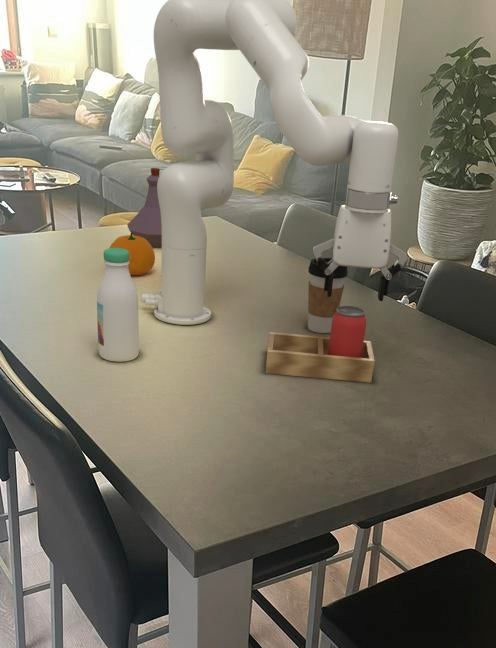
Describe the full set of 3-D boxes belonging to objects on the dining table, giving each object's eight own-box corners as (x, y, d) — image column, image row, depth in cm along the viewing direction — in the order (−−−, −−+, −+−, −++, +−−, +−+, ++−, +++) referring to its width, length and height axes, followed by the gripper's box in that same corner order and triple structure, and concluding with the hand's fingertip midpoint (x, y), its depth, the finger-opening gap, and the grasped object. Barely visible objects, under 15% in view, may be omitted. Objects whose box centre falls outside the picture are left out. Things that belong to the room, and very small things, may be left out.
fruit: (164, 272, 200) (164, 232, 194) (134, 281, 191) (134, 240, 186) (129, 262, 205) (128, 223, 199) (98, 271, 196) (97, 230, 191)
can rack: (265, 373, 149) (267, 351, 146) (267, 353, 158) (269, 331, 155) (371, 383, 149) (374, 360, 146) (367, 362, 158) (370, 341, 155)
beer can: (323, 362, 156) (330, 304, 149) (355, 364, 156) (364, 305, 150) (328, 375, 150) (336, 315, 144) (361, 377, 151) (371, 317, 144)
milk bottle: (145, 352, 153) (145, 249, 142) (127, 365, 147) (125, 258, 136) (110, 345, 155) (107, 242, 144) (91, 358, 149) (86, 251, 138)
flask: (118, 246, 217) (116, 170, 206) (135, 233, 231) (135, 161, 220) (175, 253, 216) (176, 176, 205) (189, 240, 229) (191, 167, 218)
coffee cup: (337, 337, 169) (347, 268, 160) (299, 332, 170) (306, 262, 161) (341, 325, 175) (350, 258, 167) (304, 320, 177) (312, 253, 168)
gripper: (413, 200, 139) (398, 294, 148) (317, 192, 139) (308, 287, 148) (419, 208, 133) (402, 306, 142) (318, 200, 133) (308, 299, 142)
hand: (354, 296), depth 145 cm, fingers open, 9 cm apart
